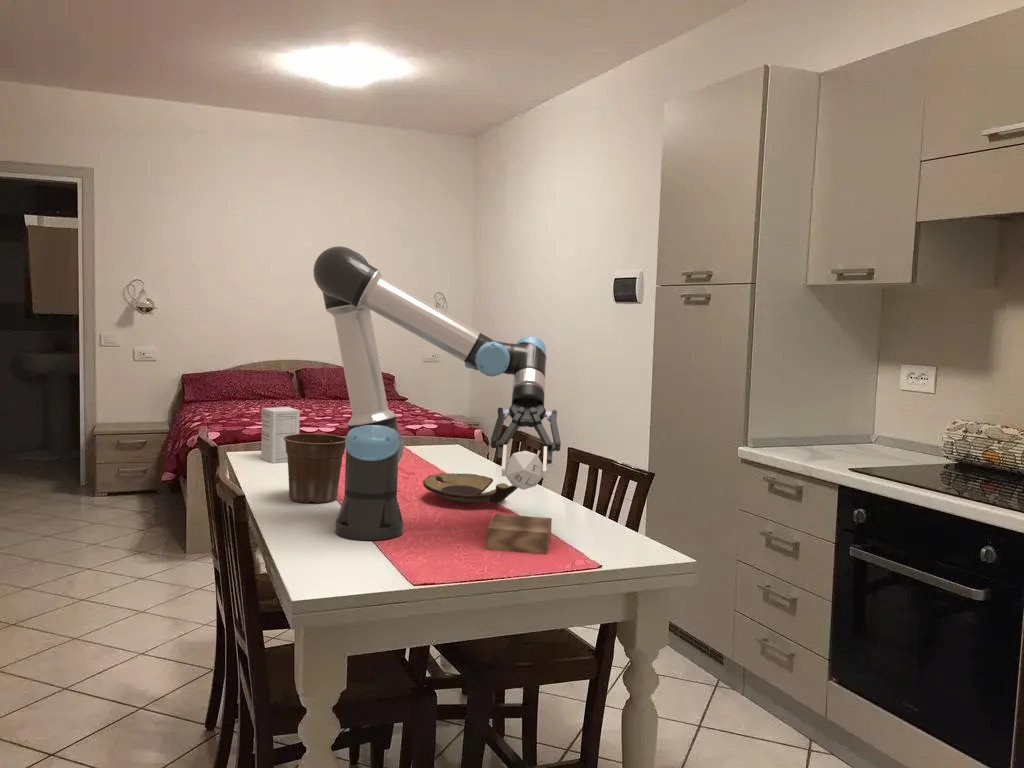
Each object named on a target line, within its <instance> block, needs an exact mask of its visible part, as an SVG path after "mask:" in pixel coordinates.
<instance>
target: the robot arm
mask: <svg viewBox="0 0 1024 768" xmlns="http://www.w3.org/2000/svg"><path fill="white" fill-rule="evenodd" d="M312 272H313V278H314V282H315V284H316V285H317V287H318V288H319V289H320V291H321V292H322V297H323V302H324V307H325V311H326V312H327V313H329V314H330V315H331V316H332V317H333V318H334V319H333V320H334V324H335V331H336V335H337V341H338V346H339V351H340V357H341V361H342V366H343V367H342V368H343V372H344V373H343V374H344V378H345V382H346V383H345V384H346V387H347V395H348V398H349V399H348V400H349V405H350V410H351V415H352V416H351V418H350V419H349V421H348V422H347V428H348V432H347V434H346V438H347V440H346V442H345V468H344V469H345V471H344V472H345V473H344V497H343V501H342V503H341V506H340V509H339V512H338V514H337V517H336V520H335V529H334V530H335V531H334V532H335V533H336V535H338V536H340V537H342V538H345V539H351V540H359V541H361V540H362V541H381V540H388V539H393V538H396V537H400V536H401V535H402V534H403V533H404V523H405V522H404V519H403V516H402V511H401V510H400V508H401V507H400V505H399V502H398V474H399V471H398V469H399V463H400V461H401V459H402V456H403V454H404V441H403V438H402V435H401V434H400V431H399V425H398V420H397V416H396V413H395V412H393V411H392V410H390V409H389V405H388V401H387V396H386V390H385V385H384V380H383V374H382V368H381V364H380V357H379V351H378V347H377V346H378V345H377V342H376V336H375V330H374V325H373V320H372V313H371V311H372V312H374V313H376V314H377V315H379V316H381V317H383V318H385V319H386V320H388V321H391V322H392V323H394V324H395V325H397V326H399V327H401V328H403V329H404V330H406V331H408V332H410V333H411V334H413V335H415V336H417V337H419V338H421V339H423V340H425V341H426V342H428V343H429V344H431V345H433V346H435V347H437V348H439V349H440V350H442V351H444V352H446V353H447V354H449V355H452V356H453V357H455V358H457V359H459V360H460V361H462V362H464V366H465V367H466V368H467V369H472V370H474V371H479V372H480V373H481V374H482V375H485V376H487V377H490V378H491V377H496V376H500V375H501V374H505V375H510V376H511V375H512V376H513V380H512V381H513V382H512V393H511V395H512V396H511V406H510V407H509V408H507V409H503V408H502V407H498V408H497V418H496V420H495V421H496V422H495V426H494V427H493V431H492V435H491V437H490V448H492V449H497V462H500V463H501V476H502V477H506V476H505V473H506V463H507V458H508V444H509V443H510V441H511V439H512V438H513V436H514V434H515V433H516V432H517V431H518V430H519V429H520V428H525V427H528V428H533V429H534V430H535V432H536V433H537V435H538V436H539V438H540V441H541V443H542V445H543V460H542V461H543V462H542V464H543V477H542V479H546V478H547V465H552V463H553V453H554V452H555V451H556V452H560V451H561V446H562V445H561V436H560V433H559V432H560V431H559V428H558V422H557V420H558V411H557V409H552V411H549V410H547V409H546V408H545V389H546V365H547V350H546V345H545V342H544V341H543V340H541V338H538V337H536V336H531V335H530V336H527V337H525V336H523V337H521V338H519V340H517V341H516V343H510V342H509V343H508V342H503V341H498V340H494V339H492V338H491V337H489V336H487V335H486V334H483V333H481V332H480V331H478V330H476V329H475V328H473V327H471V326H470V325H467V324H466V323H464V322H462V321H460V320H459V319H457V318H455V317H453V316H452V315H450V314H448V313H446V312H444V311H443V310H441V309H439V308H437V307H436V306H435V305H432V304H431V303H429V302H427V301H425V300H423V299H422V298H420V297H418V296H417V295H415V294H412V293H411V292H409V291H408V290H406V289H404V288H403V287H400V286H398V285H397V284H395V283H393V282H391V281H389V280H388V279H386V278H385V277H383V276H382V274H381V270H380V269H378V268H376V267H374V266H373V265H371V264H369V262H368V261H367V259H366V258H365V257H364V256H363V254H360V253H359V252H357V251H355V250H353V249H352V248H348V247H345V246H341V245H340V246H332V247H329V248H327V249H325V250H323V251H322V252H321V253H320V254H319V255H318V256H317V258H316V260H315V261H314V264H313V271H312ZM508 416H510V418H511V422H510V424H509V426H508V427H507V428H506V430H505V431H504V433H503V434H502V436H501V438H500V435H501V433H502V430H503V428H504V427H503V426H504V421H505V420H506V419H507V417H508ZM545 417H546V419H547V421H548V422H549V424H550V431H551V436H552V441H551V439H550V436H549V435H548V433H547V430H546V429H545V427H544V425H543V422H542V421H543V420H544V419H545Z"/></svg>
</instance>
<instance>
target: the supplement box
mask: <svg viewBox="0 0 1024 768" xmlns="http://www.w3.org/2000/svg"><path fill="white" fill-rule="evenodd" d="M300 412H301V411H300V409H297V408H293V407H290V406H279V407H277V406H276V407H263V408H261V446H260V447H261V448H260V449H261V450H260V453H261V455H260V459H261V460H263V461H265V462H268V463H271V464H278V463H288V457H287V453H286V444H285V440H284V437H285V436H287V435H293V434H300V418H301V417H300Z"/></svg>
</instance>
